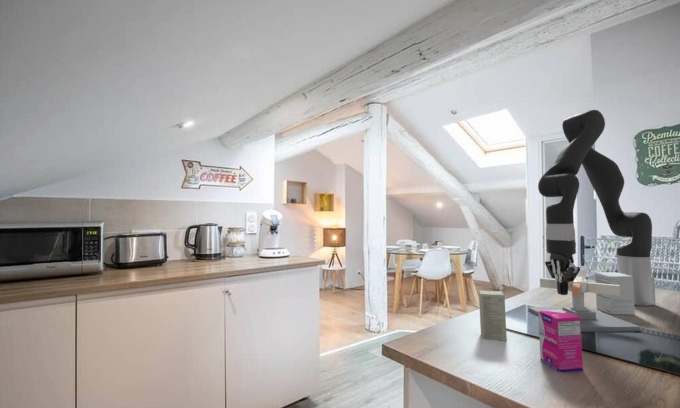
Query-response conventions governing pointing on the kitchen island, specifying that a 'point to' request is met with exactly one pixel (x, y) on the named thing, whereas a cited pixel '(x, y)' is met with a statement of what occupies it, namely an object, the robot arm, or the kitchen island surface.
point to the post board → (597, 322)
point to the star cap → (583, 287)
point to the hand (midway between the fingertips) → (562, 294)
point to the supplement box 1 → (560, 340)
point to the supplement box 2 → (615, 302)
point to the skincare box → (492, 315)
